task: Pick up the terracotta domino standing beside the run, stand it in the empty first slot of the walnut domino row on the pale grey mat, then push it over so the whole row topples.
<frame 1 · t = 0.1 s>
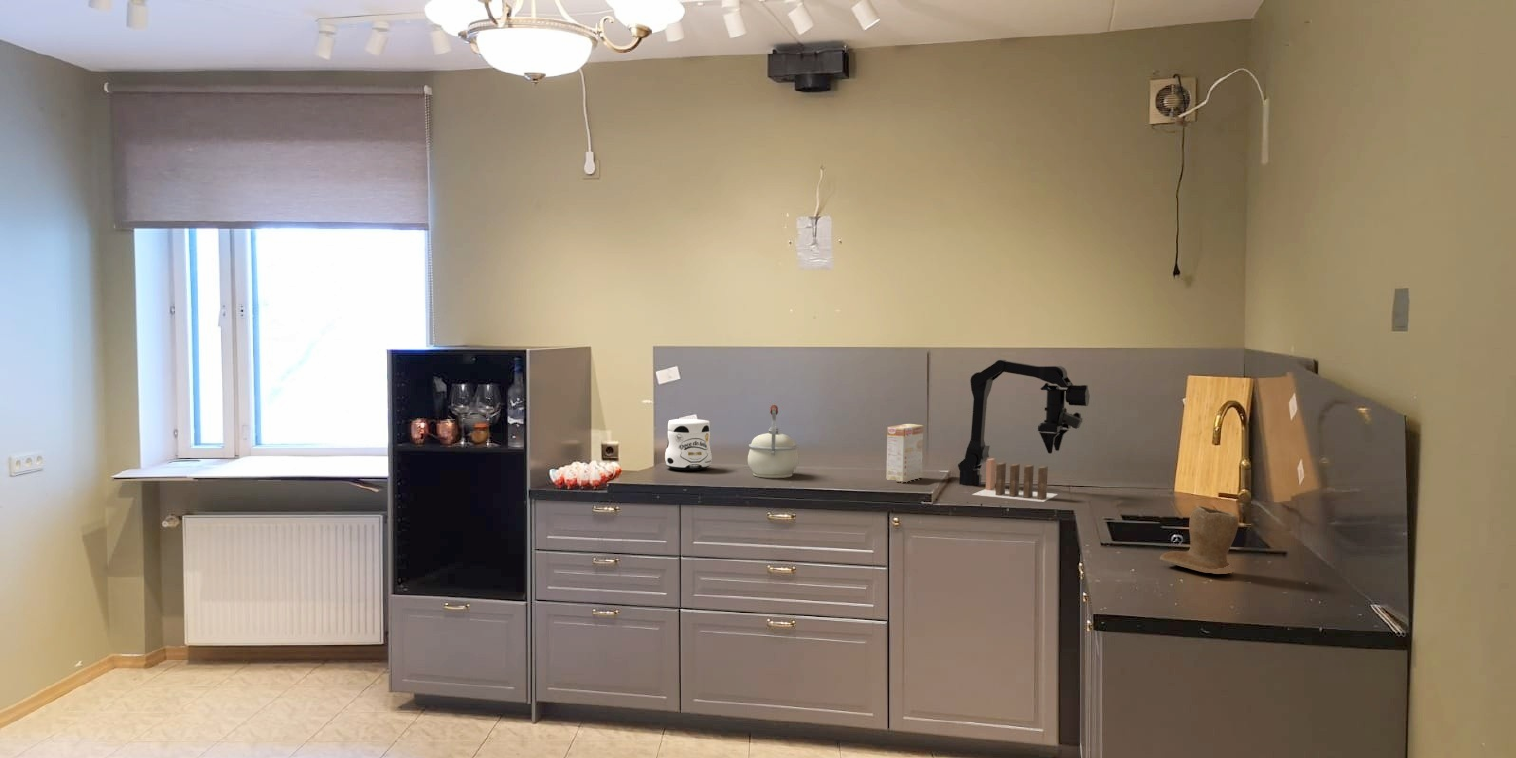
hand: (1053, 452, 349), 15 cm above the counter, fingers open, 9 cm apart
domino mat: (1015, 497, 345), on the counter
domino 2: (1000, 494, 344), point 1 cm above the counter, touching domino mat
domino 3: (1014, 495, 342), point 1 cm above the counter, touching domino mat
domino 1: (990, 489, 355), point 1 cm above the counter, touching domino mat
brown hat: (1202, 571, 247), on the counter
domino 5: (1042, 498, 338), point 1 cm above the counter, touching domino mat
doce de leite jar: (688, 469, 396), on the counter
coffeecake box: (904, 480, 379), on the counter
kettle: (772, 475, 386), on the counter
domino 4: (1027, 497, 340), point 1 cm above the counter, touching domino mat
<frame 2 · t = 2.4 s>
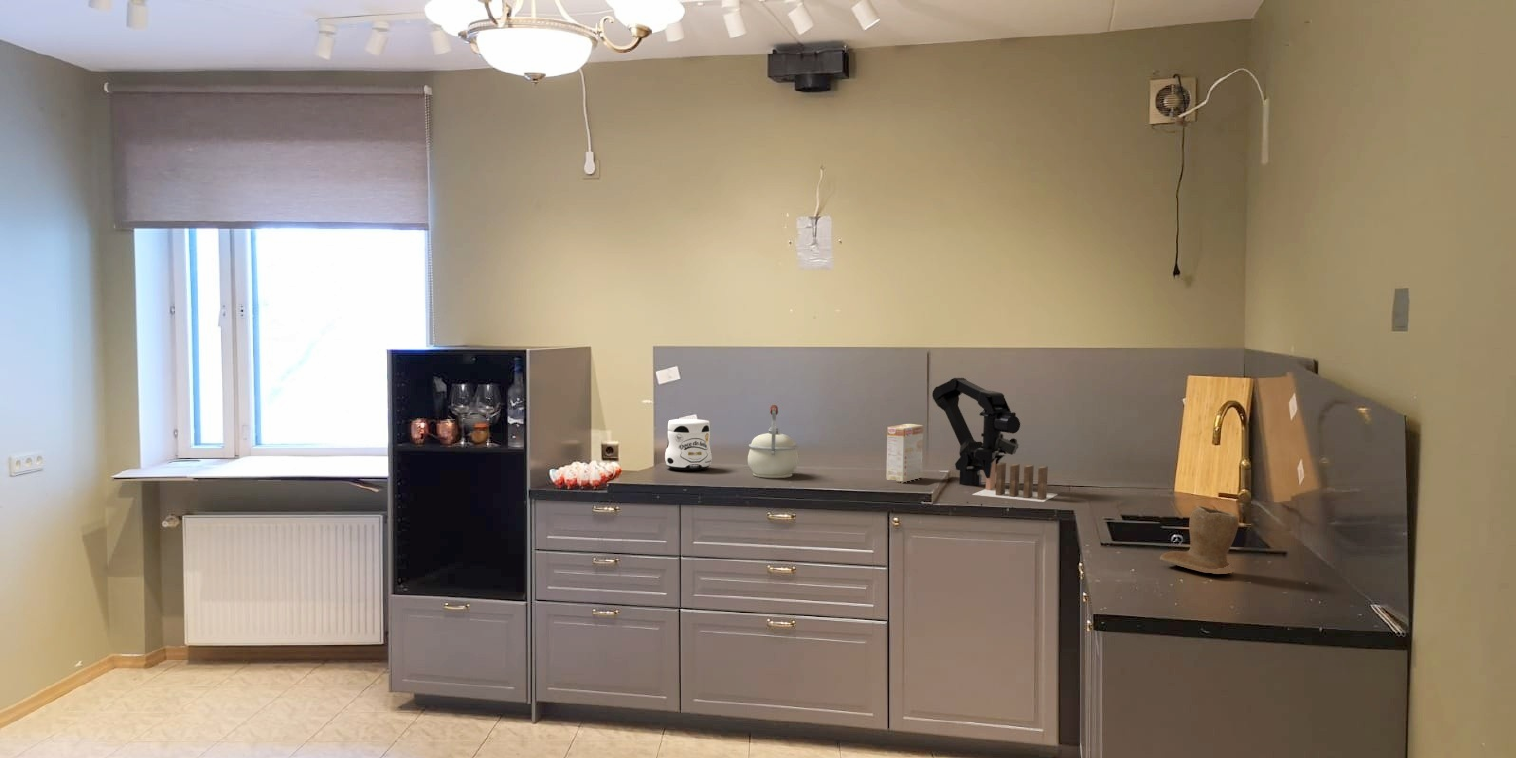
hand: (990, 477, 355), 5 cm above the counter, fingers closed on domino 1, 5 cm apart
domino 1: (990, 489, 355), point 1 cm above the counter, touching domino mat, gripper
everything else where it was.
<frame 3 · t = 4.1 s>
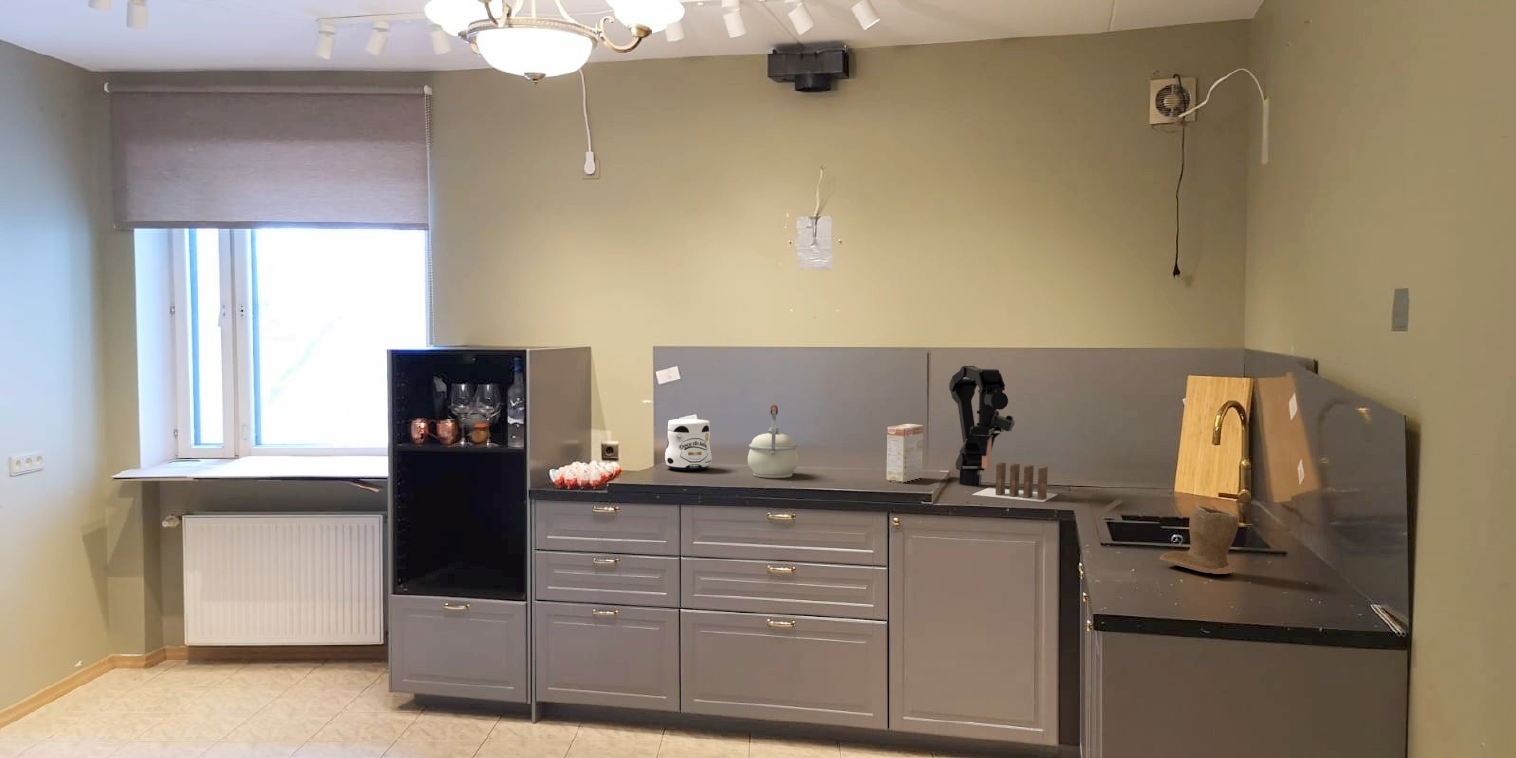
hand: (986, 455, 349), 13 cm above the counter, fingers closed on domino 1, 5 cm apart
domino 1: (986, 467, 349), point 9 cm above the counter, touching gripper
everything else where it was.
when the fingers open (7 cm above the counter, at t = 6.2 s): domino 1 drops 2 cm, resting on domino mat.
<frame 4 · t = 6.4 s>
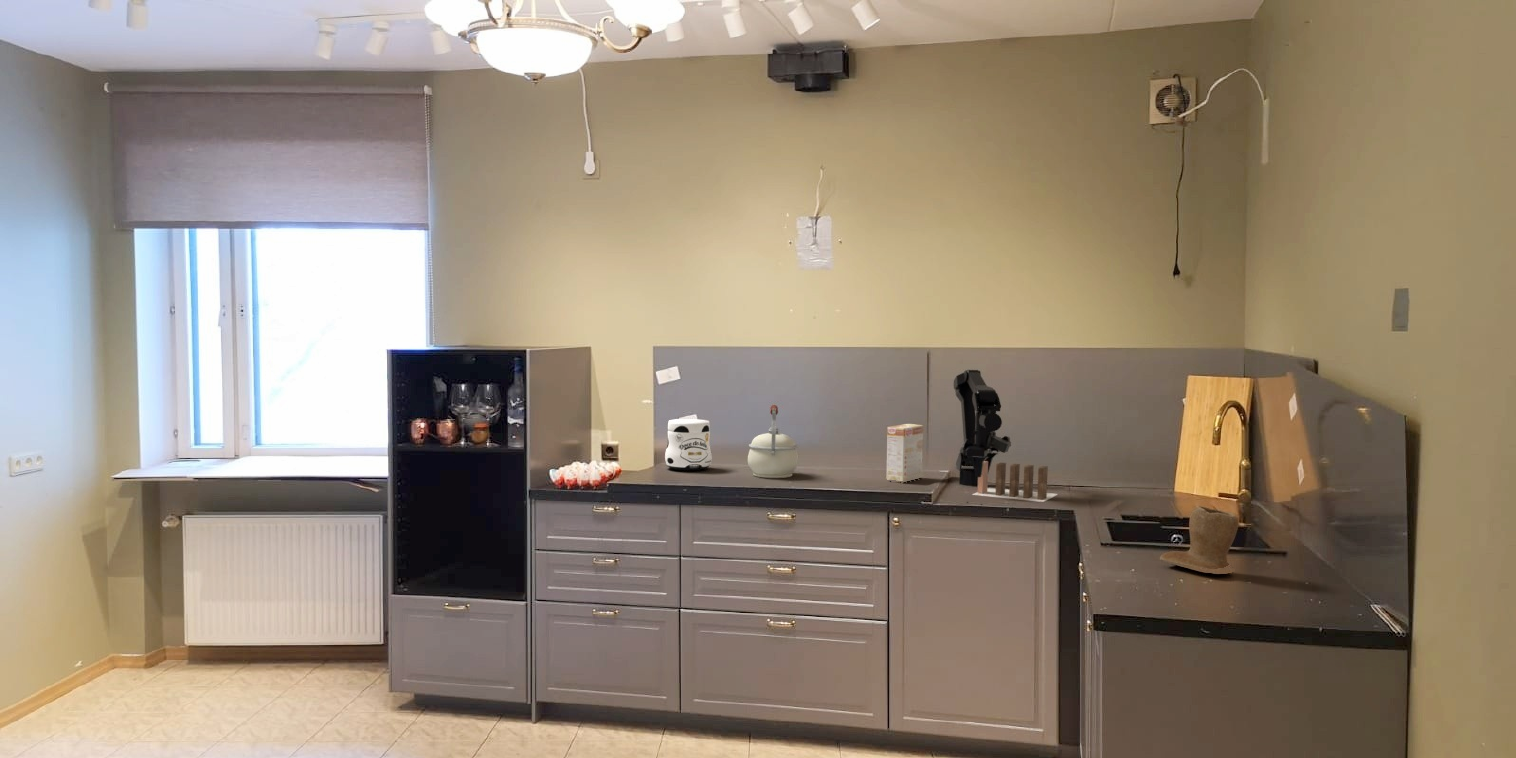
hand: (982, 475, 347), 7 cm above the counter, fingers open, 7 cm apart
domino 1: (982, 492, 347), point 1 cm above the counter, touching domino mat
everything else where it was.
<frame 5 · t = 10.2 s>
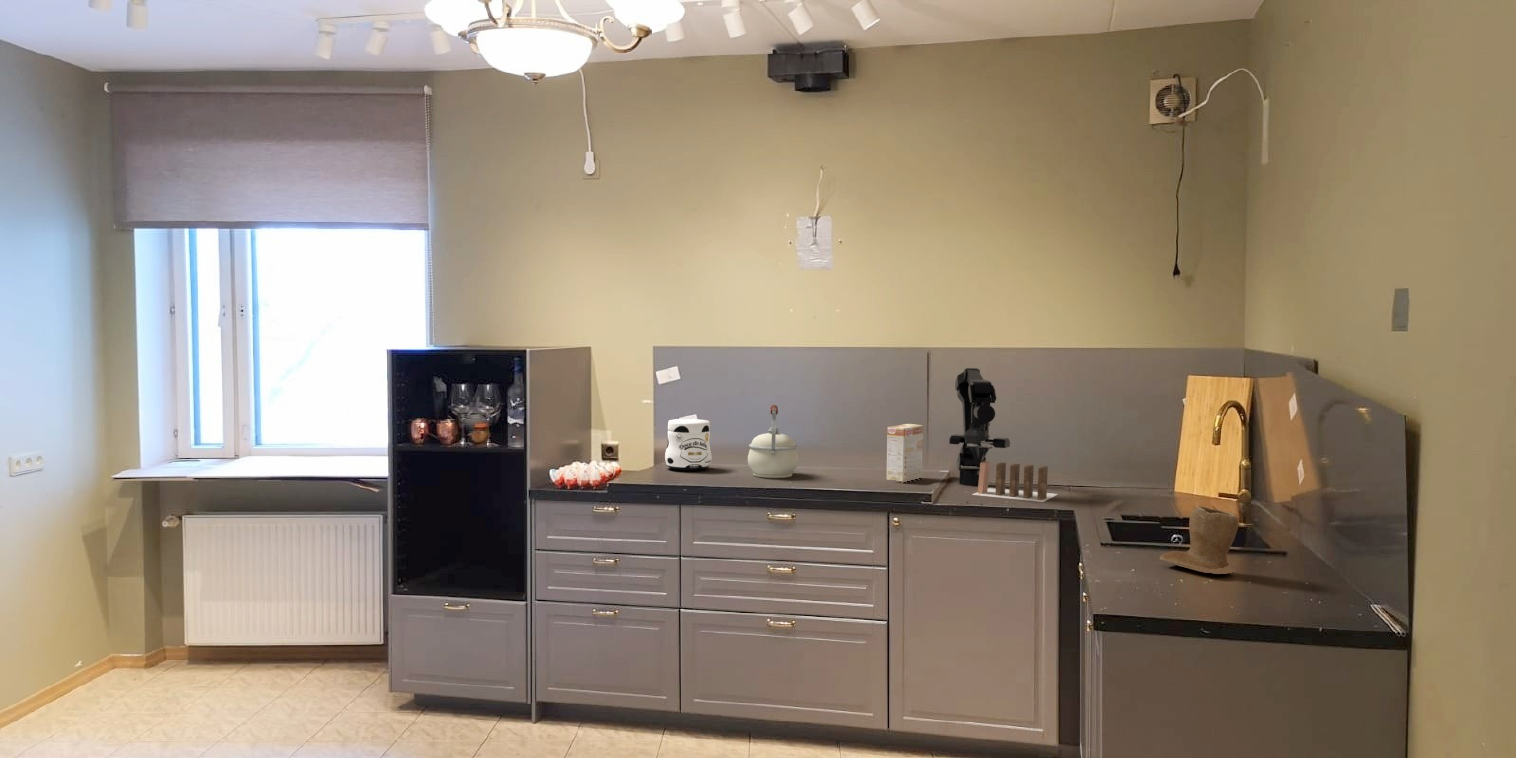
hand: (978, 467, 348), 9 cm above the counter, fingers closed
nothing on the counter moved.
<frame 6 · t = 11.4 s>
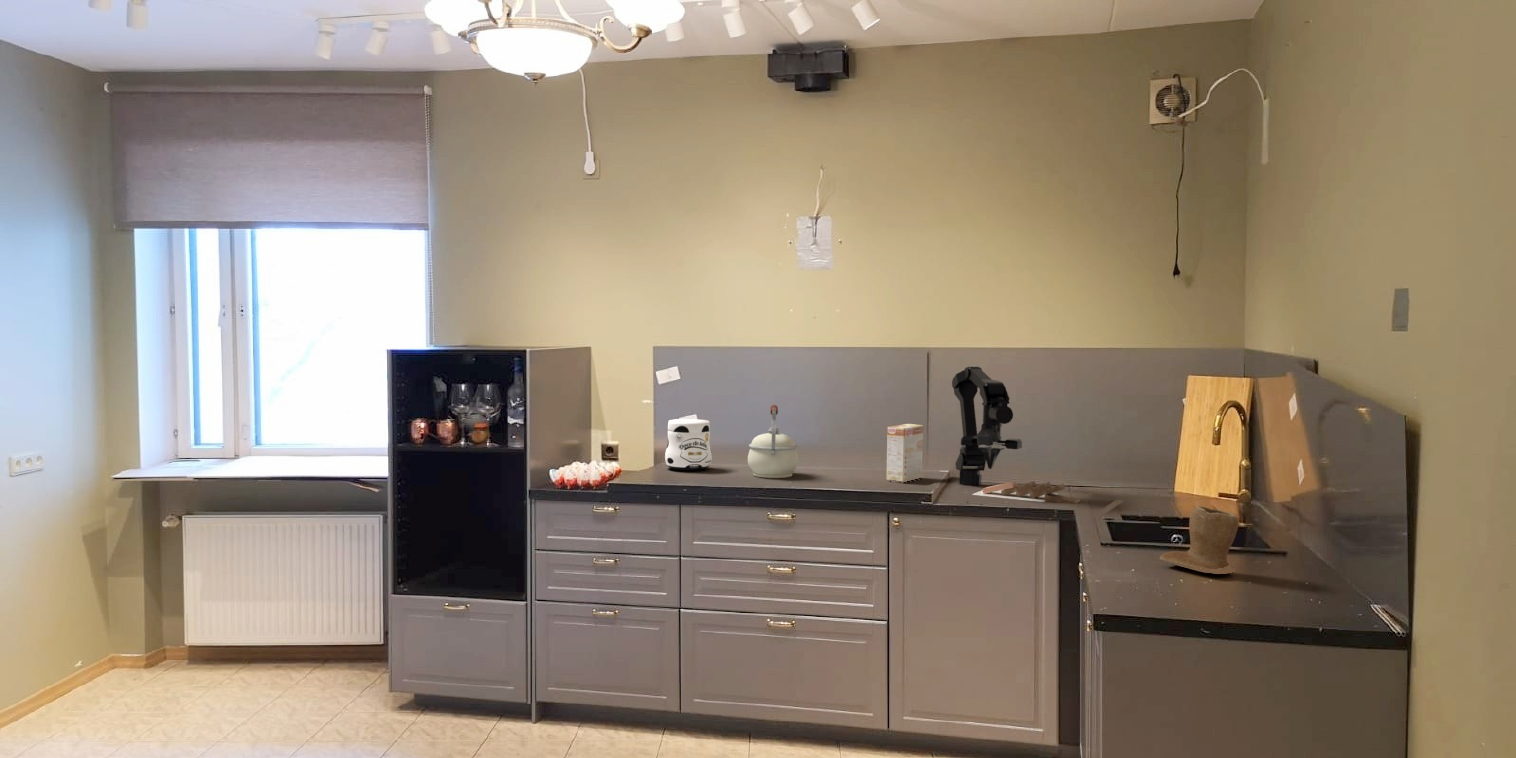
hand: (990, 468, 346), 9 cm above the counter, fingers closed
domino 2: (1004, 492, 344), point 2 cm above the counter, tilted 69°, touching domino 1, domino 3, domino mat
domino 3: (1018, 493, 341), point 2 cm above the counter, tilted 69°, touching domino 2, domino 4, domino mat
domino 1: (985, 490, 347), point 2 cm above the counter, tilted 73°, touching domino 2, domino mat
domino 5: (1046, 496, 337), point 2 cm above the counter, tilted 97°, touching domino 4, domino mat
domino 4: (1032, 495, 339), point 2 cm above the counter, tilted 69°, touching domino 3, domino 5
everything else where it was.
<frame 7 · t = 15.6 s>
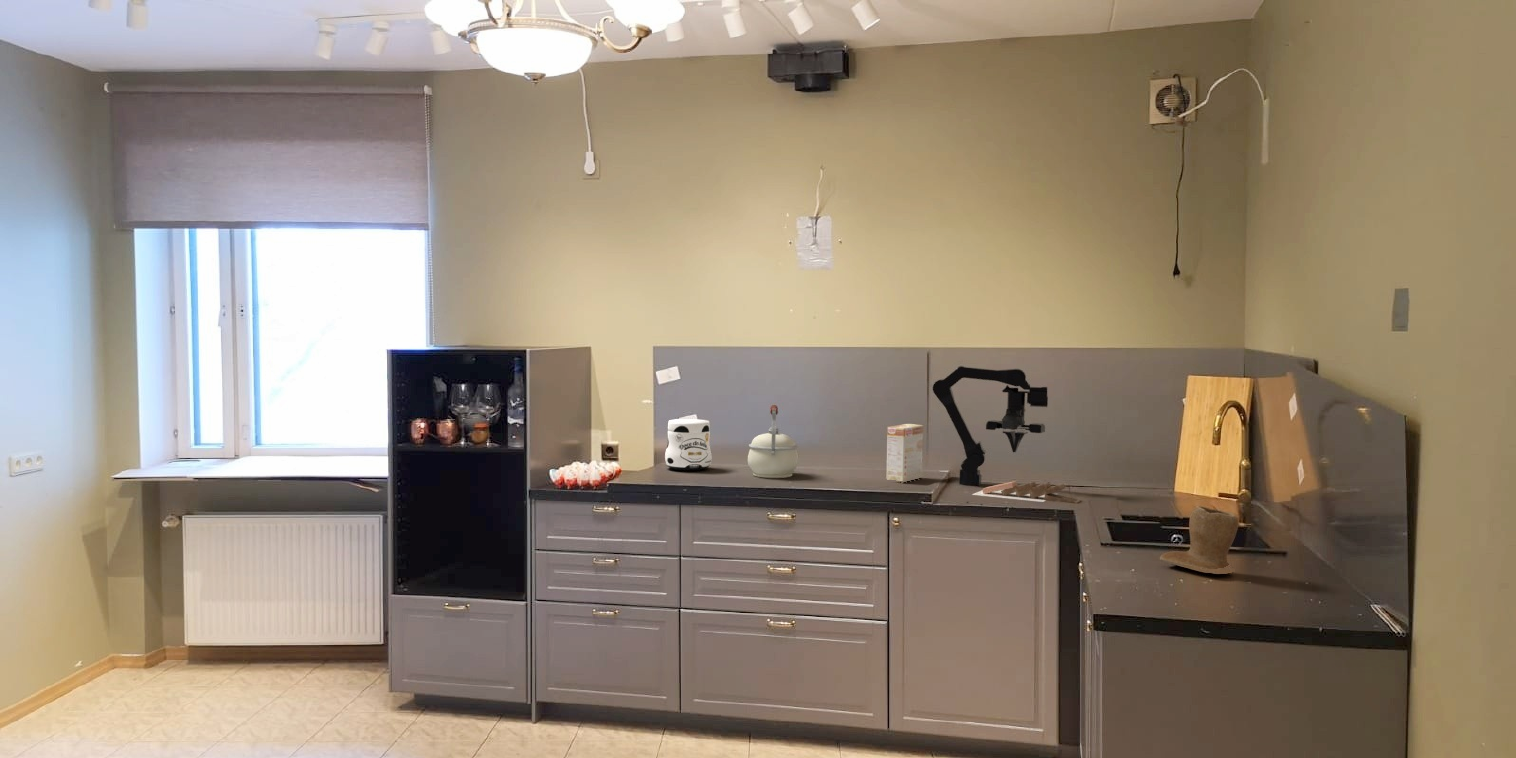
hand: (1014, 452, 360), 13 cm above the counter, fingers closed
nothing on the counter moved.
at the end: domino 5 tilted 97°; domino 1 tilted 73°; domino 1 inside the target area (1.0 cm from its centre), point 2.0 cm above the counter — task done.
